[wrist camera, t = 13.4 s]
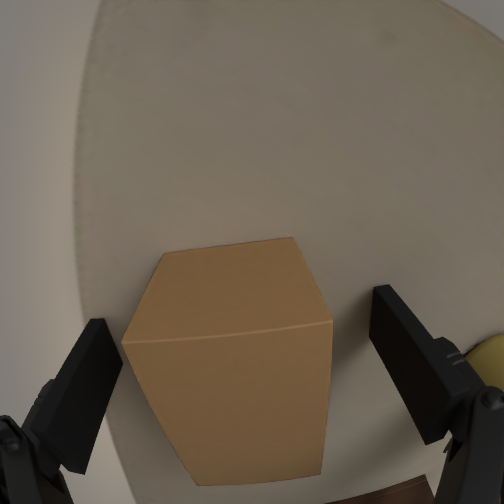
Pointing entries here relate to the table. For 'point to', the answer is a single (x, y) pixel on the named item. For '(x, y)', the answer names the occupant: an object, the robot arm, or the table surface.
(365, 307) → the table surface
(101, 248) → the table surface
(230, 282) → the small cardboard box
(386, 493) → the cabinet
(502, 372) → the paper tube
